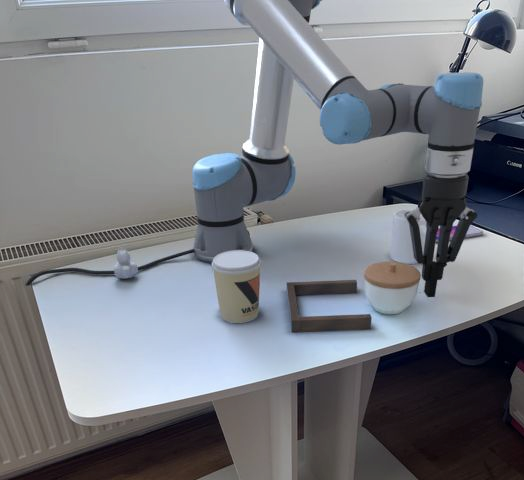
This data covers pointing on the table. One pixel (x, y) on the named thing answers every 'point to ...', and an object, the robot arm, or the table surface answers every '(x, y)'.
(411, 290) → the trinket box
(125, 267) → the grey lumpy figure
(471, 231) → the smartphone
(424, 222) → the mug
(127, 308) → the table surface
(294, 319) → the bay
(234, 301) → the coffee cup
